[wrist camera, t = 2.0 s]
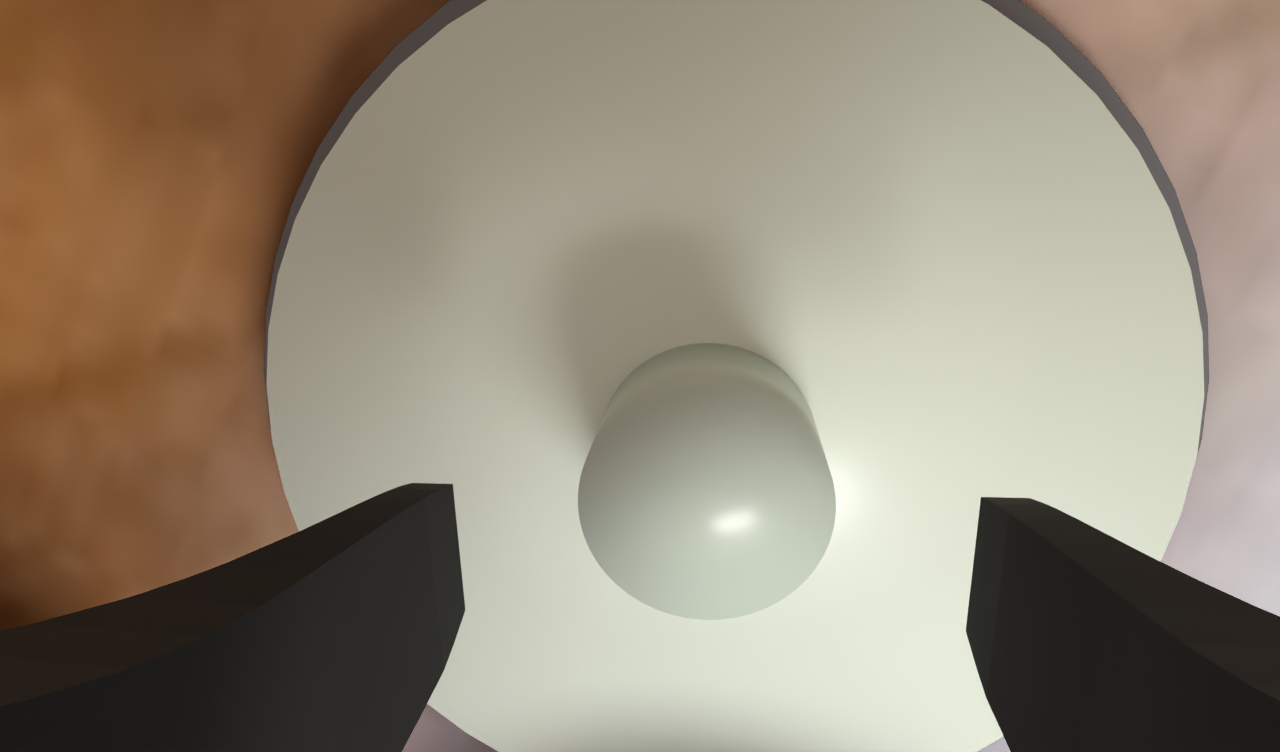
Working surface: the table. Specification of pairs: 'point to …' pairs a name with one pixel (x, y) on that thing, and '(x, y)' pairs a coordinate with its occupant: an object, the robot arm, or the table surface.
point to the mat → (1004, 3)
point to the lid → (733, 355)
